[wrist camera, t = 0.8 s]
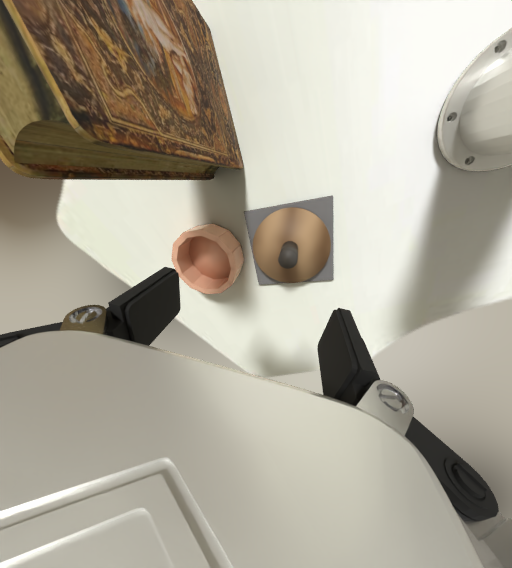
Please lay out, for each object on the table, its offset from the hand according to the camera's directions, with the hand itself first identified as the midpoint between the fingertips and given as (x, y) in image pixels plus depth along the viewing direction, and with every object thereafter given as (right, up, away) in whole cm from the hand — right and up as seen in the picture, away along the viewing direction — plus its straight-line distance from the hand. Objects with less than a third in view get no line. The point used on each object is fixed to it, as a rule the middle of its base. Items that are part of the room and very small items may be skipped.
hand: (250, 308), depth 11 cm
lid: (+6, +8, +22) cm, 24 cm away
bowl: (-8, +7, +26) cm, 29 cm away
